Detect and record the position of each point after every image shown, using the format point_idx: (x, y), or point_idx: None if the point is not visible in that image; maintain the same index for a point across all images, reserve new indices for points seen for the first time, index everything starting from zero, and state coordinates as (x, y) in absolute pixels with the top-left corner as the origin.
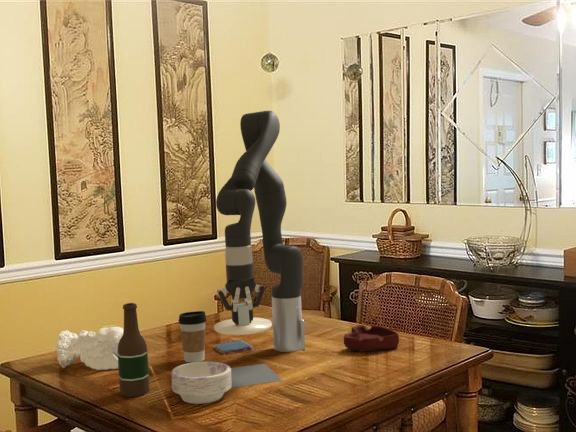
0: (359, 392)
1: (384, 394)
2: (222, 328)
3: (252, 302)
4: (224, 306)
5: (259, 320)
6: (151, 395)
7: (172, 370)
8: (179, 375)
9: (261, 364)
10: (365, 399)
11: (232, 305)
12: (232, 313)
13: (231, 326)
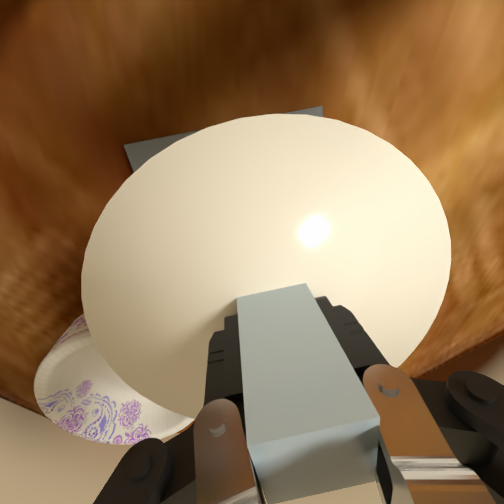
0: (438, 340)
1: (466, 351)
2: (154, 369)
3: (456, 430)
4: (116, 491)
5: (394, 252)
6: (8, 304)
7: (37, 401)
8: (76, 433)
9: (308, 113)
10: (428, 366)
11: (211, 470)
12: (211, 397)
13: (205, 343)
